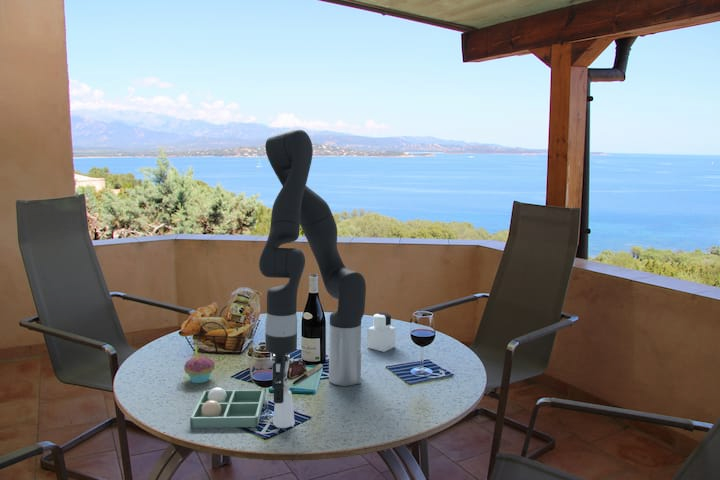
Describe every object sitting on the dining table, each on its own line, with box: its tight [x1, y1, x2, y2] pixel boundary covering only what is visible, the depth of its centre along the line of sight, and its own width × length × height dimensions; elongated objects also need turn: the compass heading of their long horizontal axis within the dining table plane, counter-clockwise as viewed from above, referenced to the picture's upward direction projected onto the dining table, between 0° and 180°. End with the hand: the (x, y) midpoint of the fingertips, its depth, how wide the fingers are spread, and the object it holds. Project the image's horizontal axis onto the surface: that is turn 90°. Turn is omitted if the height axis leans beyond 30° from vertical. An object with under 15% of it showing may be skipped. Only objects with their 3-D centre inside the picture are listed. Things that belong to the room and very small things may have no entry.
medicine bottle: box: [367, 312, 397, 353], centre depth 189 cm, size 7×7×12 cm
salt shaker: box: [272, 380, 296, 429], centre depth 133 cm, size 5×5×11 cm
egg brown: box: [201, 400, 221, 417], centre depth 134 cm, size 5×5×5 cm
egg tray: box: [189, 389, 265, 429], centre depth 138 cm, size 16×16×3 cm
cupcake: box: [183, 343, 216, 384], centre depth 157 cm, size 9×8×12 cm
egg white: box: [208, 386, 227, 403], centre depth 142 cm, size 5×5×5 cm
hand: (280, 395), depth 133 cm, fingers open, 8 cm apart
